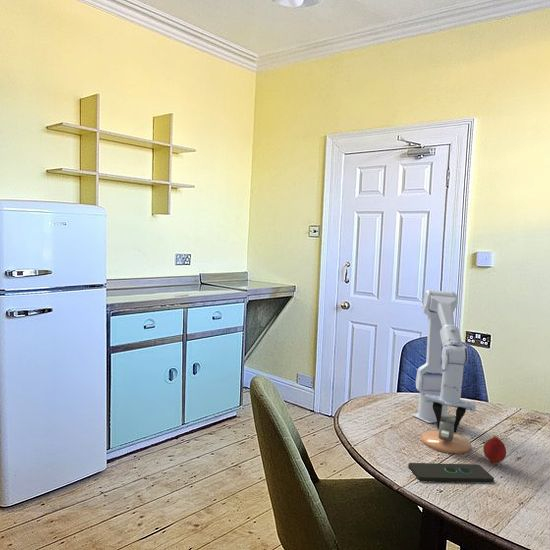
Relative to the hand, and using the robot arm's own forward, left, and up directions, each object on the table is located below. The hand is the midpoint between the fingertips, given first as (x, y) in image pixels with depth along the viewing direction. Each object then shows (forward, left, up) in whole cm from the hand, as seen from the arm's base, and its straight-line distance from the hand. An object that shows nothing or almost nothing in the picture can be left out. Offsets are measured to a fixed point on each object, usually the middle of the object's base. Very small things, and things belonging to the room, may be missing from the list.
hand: (447, 429), depth 153 cm
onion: (-2, +15, -4) cm, 16 cm away
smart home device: (+15, +15, -5) cm, 22 cm away
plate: (0, 0, -4) cm, 4 cm away
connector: (+1, +1, -2) cm, 2 cm away
